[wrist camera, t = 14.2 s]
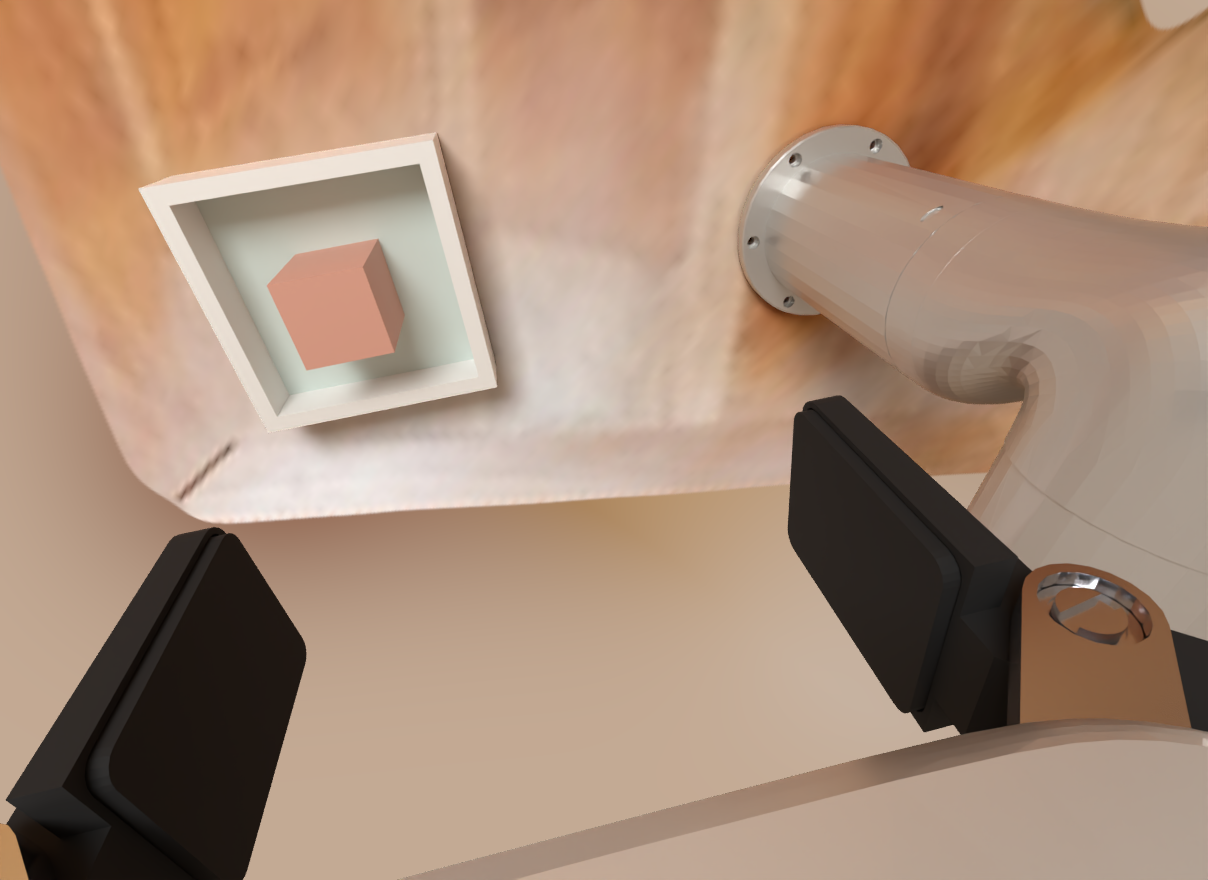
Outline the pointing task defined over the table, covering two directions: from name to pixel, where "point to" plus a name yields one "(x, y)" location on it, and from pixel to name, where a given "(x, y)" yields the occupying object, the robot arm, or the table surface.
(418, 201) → the tray
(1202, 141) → the table surface
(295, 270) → the pink block
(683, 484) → the table surface
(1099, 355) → the robot arm
